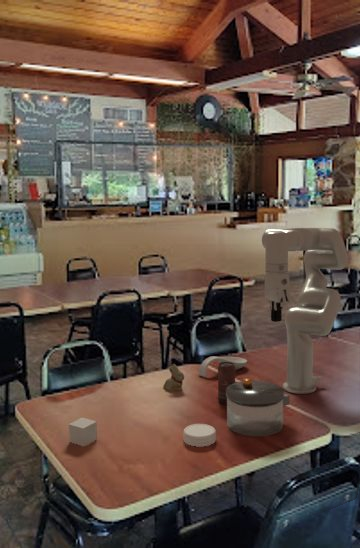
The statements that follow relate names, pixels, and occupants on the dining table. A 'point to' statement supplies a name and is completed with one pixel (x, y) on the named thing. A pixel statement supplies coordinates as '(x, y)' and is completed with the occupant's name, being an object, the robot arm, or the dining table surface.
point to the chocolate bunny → (174, 379)
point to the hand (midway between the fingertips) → (276, 320)
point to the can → (225, 379)
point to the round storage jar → (255, 418)
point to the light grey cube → (83, 431)
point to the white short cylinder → (199, 435)
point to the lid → (254, 393)
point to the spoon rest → (236, 360)
